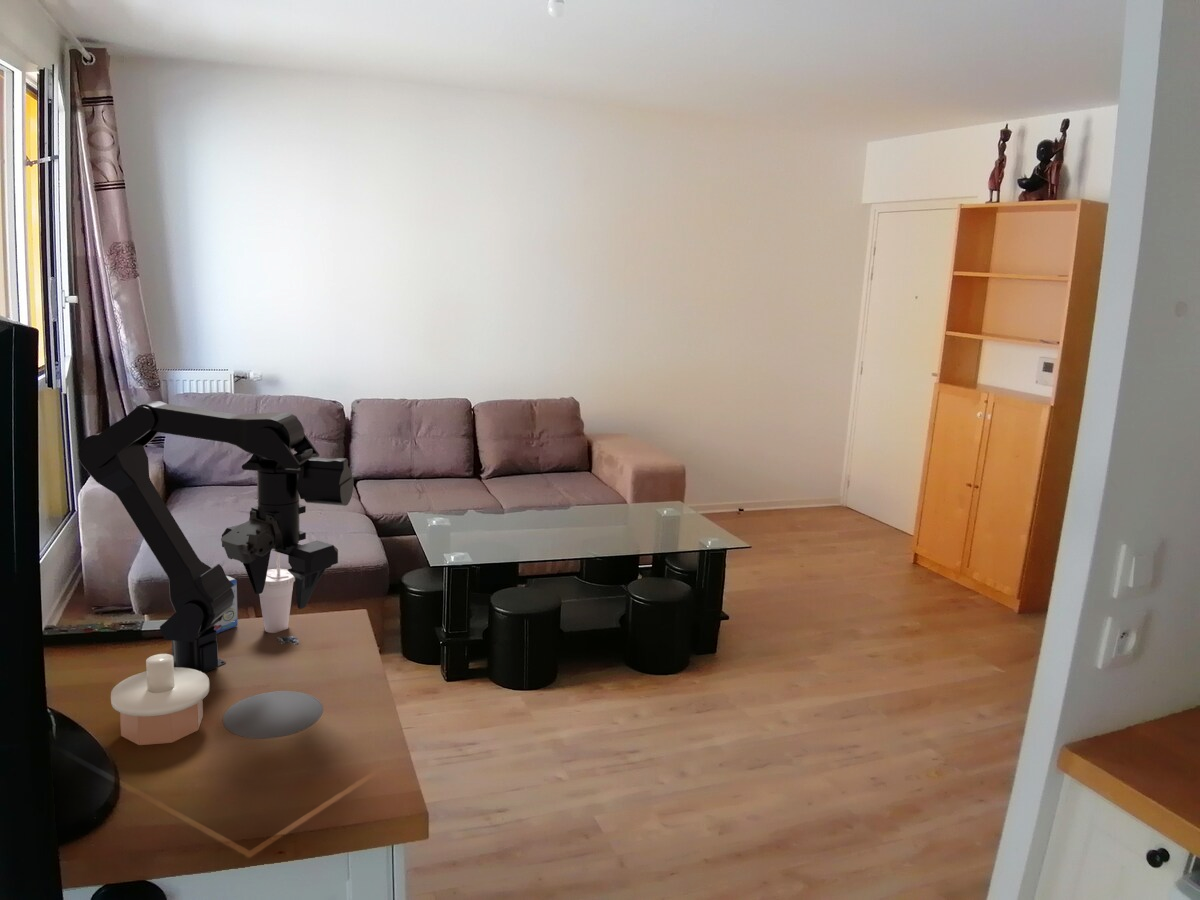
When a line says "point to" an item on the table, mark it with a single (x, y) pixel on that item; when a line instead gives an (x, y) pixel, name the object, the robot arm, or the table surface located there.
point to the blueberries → (288, 640)
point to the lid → (160, 689)
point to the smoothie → (277, 598)
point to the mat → (272, 714)
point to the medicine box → (229, 612)
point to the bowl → (161, 726)
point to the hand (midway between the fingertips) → (279, 600)
